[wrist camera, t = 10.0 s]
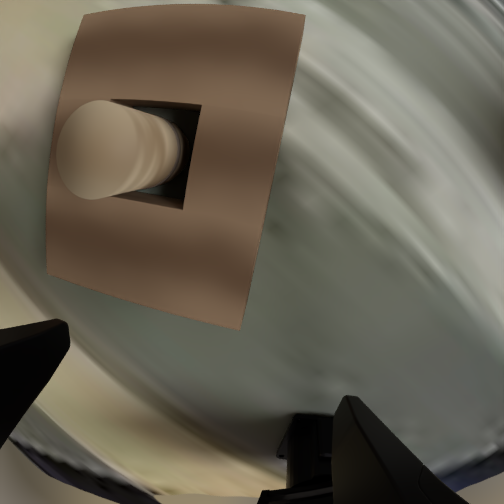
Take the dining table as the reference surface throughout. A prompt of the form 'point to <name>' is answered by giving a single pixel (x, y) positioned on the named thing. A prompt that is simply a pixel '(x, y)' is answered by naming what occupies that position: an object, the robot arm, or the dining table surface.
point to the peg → (118, 150)
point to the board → (202, 162)
